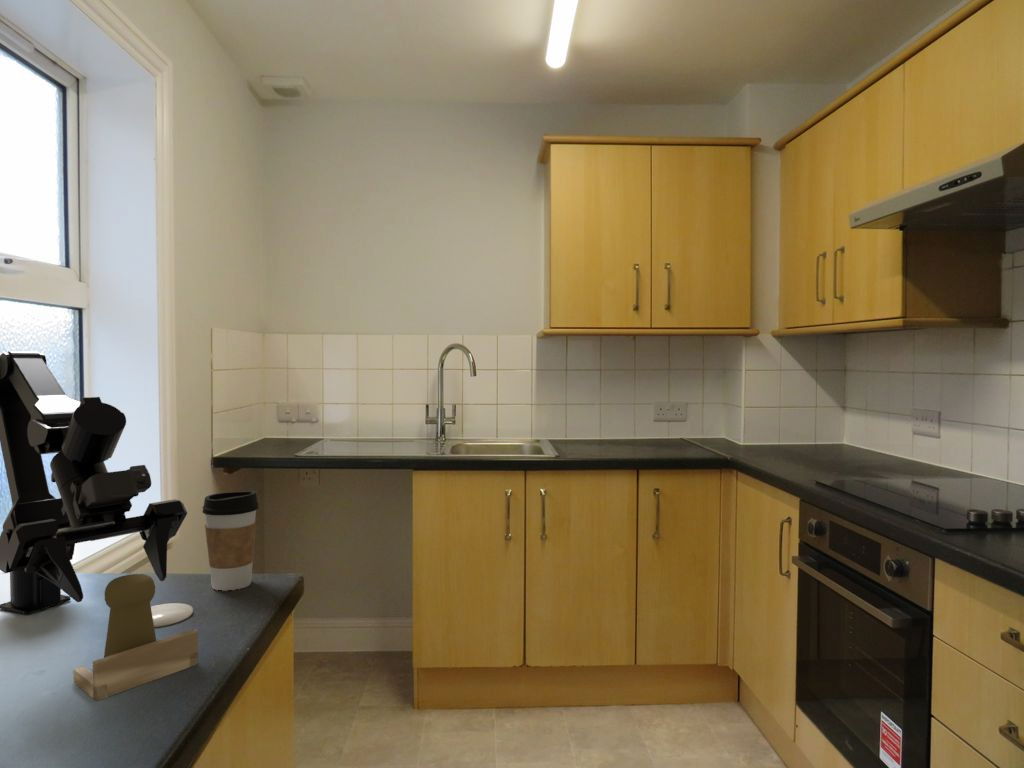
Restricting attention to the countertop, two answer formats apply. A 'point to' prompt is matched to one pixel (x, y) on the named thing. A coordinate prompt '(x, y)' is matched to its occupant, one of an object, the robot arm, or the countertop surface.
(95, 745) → the countertop surface
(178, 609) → the saucer
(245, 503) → the coffee cup
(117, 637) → the cork
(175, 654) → the holder
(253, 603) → the countertop surface
